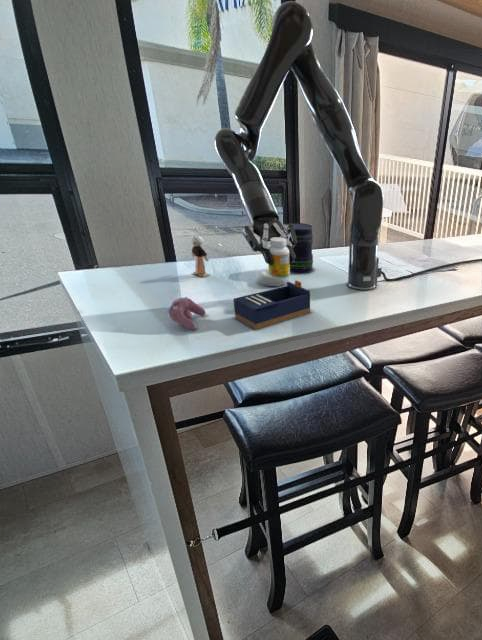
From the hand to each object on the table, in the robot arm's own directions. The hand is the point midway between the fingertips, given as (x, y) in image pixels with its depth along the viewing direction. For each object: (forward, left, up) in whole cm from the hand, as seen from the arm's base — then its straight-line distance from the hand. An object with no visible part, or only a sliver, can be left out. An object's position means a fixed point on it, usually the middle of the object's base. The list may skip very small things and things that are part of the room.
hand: (282, 262), depth 109 cm
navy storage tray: (+3, -1, -14) cm, 15 cm away
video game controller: (+22, -11, -15) cm, 28 cm away
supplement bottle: (0, -2, -4) cm, 5 cm away
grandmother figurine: (+1, -41, -15) cm, 43 cm away
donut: (-13, -23, -15) cm, 30 cm away
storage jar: (-29, -29, -15) cm, 43 cm away
